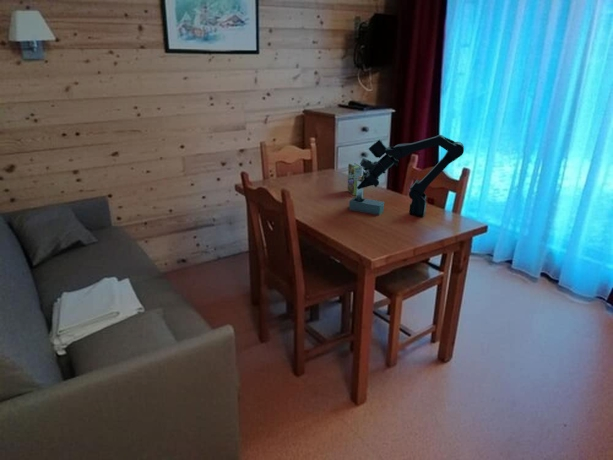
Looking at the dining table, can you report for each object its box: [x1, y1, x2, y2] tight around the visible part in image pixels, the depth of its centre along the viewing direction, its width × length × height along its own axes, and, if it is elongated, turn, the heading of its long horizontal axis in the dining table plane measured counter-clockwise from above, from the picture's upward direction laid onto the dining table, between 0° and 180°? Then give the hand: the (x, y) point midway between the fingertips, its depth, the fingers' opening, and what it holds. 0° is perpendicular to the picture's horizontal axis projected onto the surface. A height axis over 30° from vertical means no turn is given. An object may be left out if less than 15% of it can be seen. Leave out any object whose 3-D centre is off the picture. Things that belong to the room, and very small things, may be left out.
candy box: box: [347, 162, 363, 196], centre depth 240 cm, size 9×4×15 cm, turn 17°
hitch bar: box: [348, 196, 385, 216], centre depth 217 cm, size 15×7×4 cm, turn 64°
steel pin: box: [355, 175, 364, 202], centre depth 215 cm, size 3×3×12 cm
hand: (357, 187), depth 215 cm, fingers closed on steel pin, 3 cm apart
